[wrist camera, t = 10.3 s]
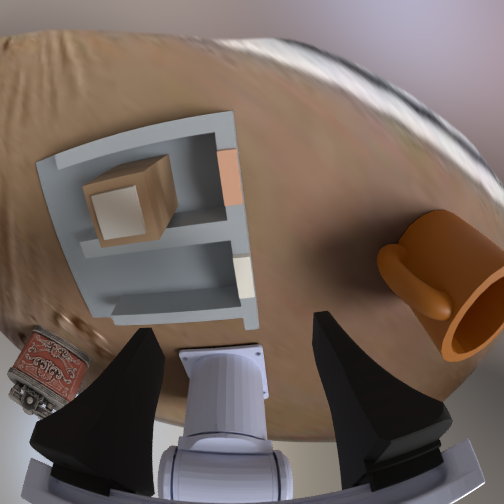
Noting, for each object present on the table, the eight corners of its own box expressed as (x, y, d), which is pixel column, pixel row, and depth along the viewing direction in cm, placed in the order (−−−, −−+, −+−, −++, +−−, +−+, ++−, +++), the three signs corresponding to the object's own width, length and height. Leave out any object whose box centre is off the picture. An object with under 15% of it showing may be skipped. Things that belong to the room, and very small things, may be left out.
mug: (396, 173, 18) (480, 221, 10) (474, 230, 21) (535, 279, 13) (342, 273, 22) (388, 356, 14) (429, 304, 25) (474, 365, 17)
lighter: (34, 335, 25) (-1, 397, 16) (35, 320, 24) (-5, 385, 15) (88, 368, 28) (63, 436, 19) (93, 355, 26) (65, 429, 17)
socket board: (256, 300, 23) (259, 332, 20) (96, 312, 23) (81, 339, 20) (233, 110, 16) (231, 111, 13) (41, 160, 16) (12, 173, 13)
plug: (178, 205, 18) (158, 242, 13) (130, 213, 18) (99, 250, 13) (168, 153, 16) (141, 172, 12) (119, 164, 16) (79, 188, 12)
